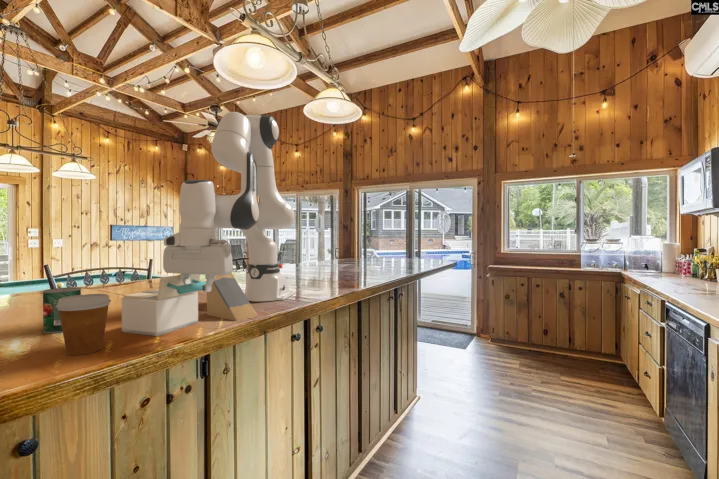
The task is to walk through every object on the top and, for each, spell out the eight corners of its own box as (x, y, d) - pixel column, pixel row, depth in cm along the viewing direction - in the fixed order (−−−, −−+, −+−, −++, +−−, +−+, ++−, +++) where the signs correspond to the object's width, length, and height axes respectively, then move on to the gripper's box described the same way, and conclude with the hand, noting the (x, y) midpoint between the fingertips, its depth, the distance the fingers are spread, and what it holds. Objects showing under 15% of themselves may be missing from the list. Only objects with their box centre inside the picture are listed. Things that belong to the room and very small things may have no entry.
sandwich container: (236, 321, 101) (236, 271, 101) (205, 315, 109) (205, 269, 109) (259, 315, 108) (259, 269, 108) (228, 310, 117) (228, 266, 116)
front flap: (157, 298, 86) (176, 305, 85) (160, 277, 86) (179, 284, 84) (195, 290, 99) (213, 296, 97) (199, 272, 98) (216, 277, 97)
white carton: (166, 319, 103) (166, 290, 103) (198, 322, 99) (198, 292, 99) (121, 332, 90) (121, 298, 90) (156, 336, 86) (156, 301, 86)
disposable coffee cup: (48, 361, 69) (47, 302, 69) (66, 346, 78) (66, 295, 78) (104, 354, 73) (104, 299, 73) (116, 341, 82) (115, 292, 82)
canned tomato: (36, 331, 90) (35, 290, 90) (70, 324, 97) (70, 286, 97) (53, 335, 87) (53, 292, 87) (87, 327, 94) (87, 288, 94)
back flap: (164, 290, 102) (164, 287, 102) (179, 291, 101) (179, 288, 101) (123, 297, 90) (123, 294, 90) (139, 298, 88) (139, 295, 88)
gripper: (238, 239, 90) (238, 291, 90) (177, 239, 96) (177, 287, 96) (221, 239, 84) (221, 295, 84) (158, 239, 90) (158, 290, 90)
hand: (197, 291), depth 90 cm, fingers open, 5 cm apart
